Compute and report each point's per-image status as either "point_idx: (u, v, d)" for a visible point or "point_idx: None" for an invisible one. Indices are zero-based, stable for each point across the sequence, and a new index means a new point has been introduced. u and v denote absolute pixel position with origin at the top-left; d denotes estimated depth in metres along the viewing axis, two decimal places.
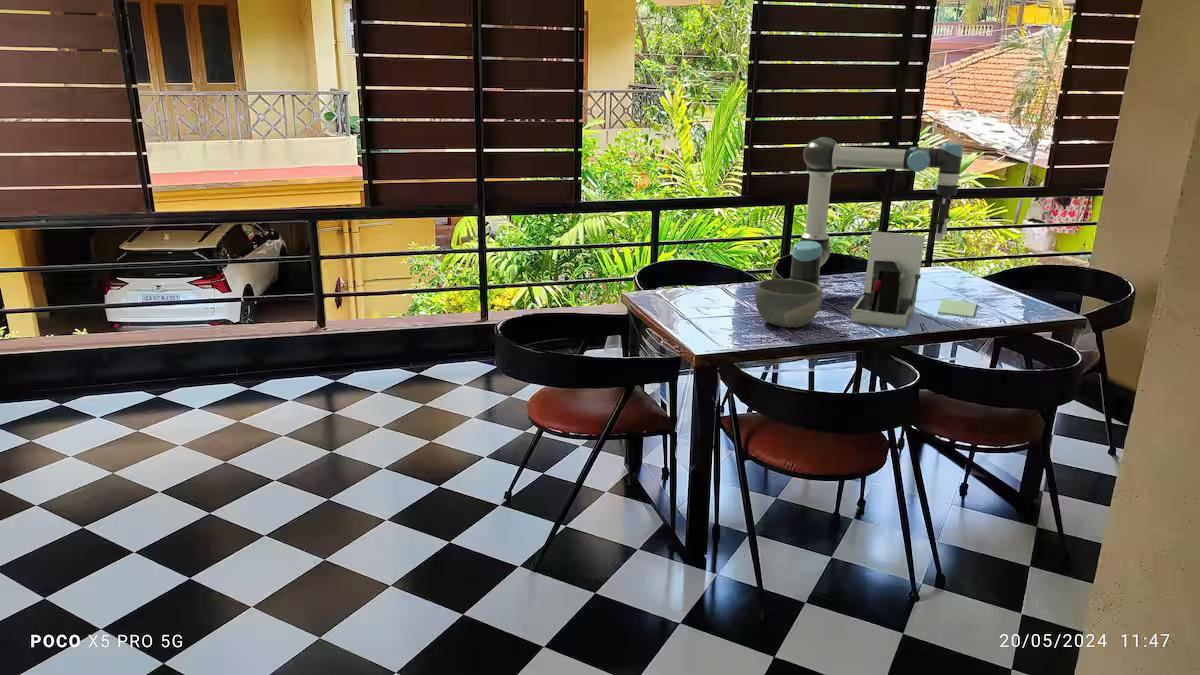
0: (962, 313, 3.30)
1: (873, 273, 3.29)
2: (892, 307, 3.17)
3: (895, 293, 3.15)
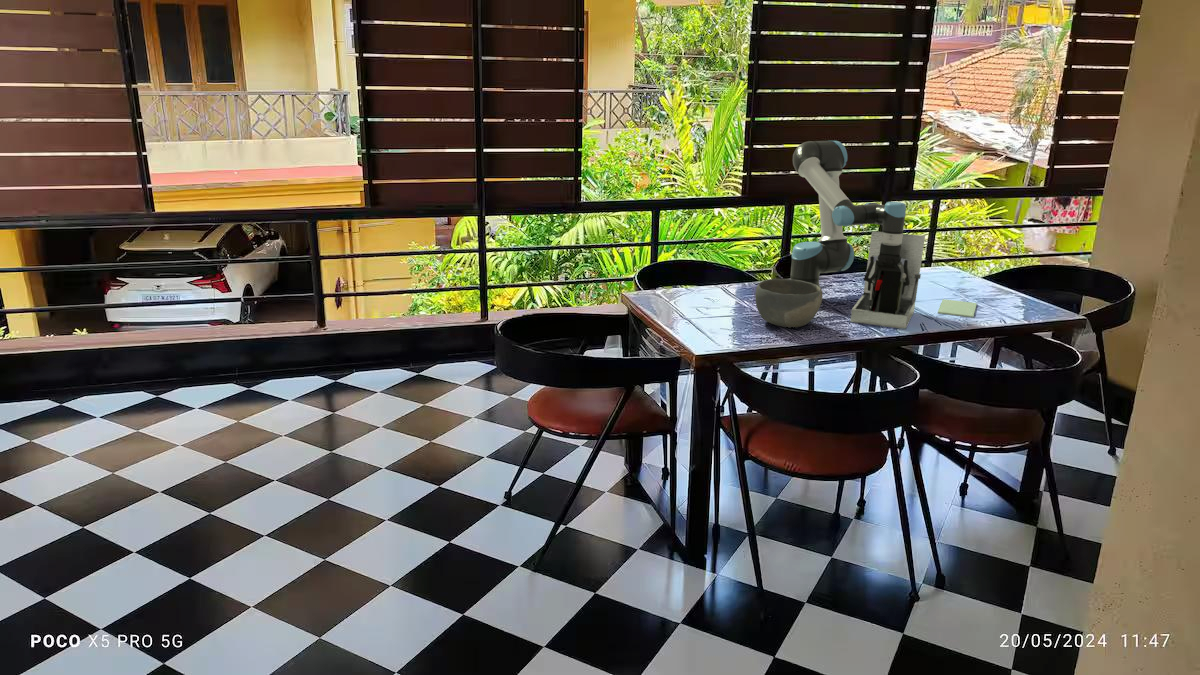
0: (962, 313, 3.30)
1: None
2: (892, 307, 3.17)
3: (896, 293, 3.15)
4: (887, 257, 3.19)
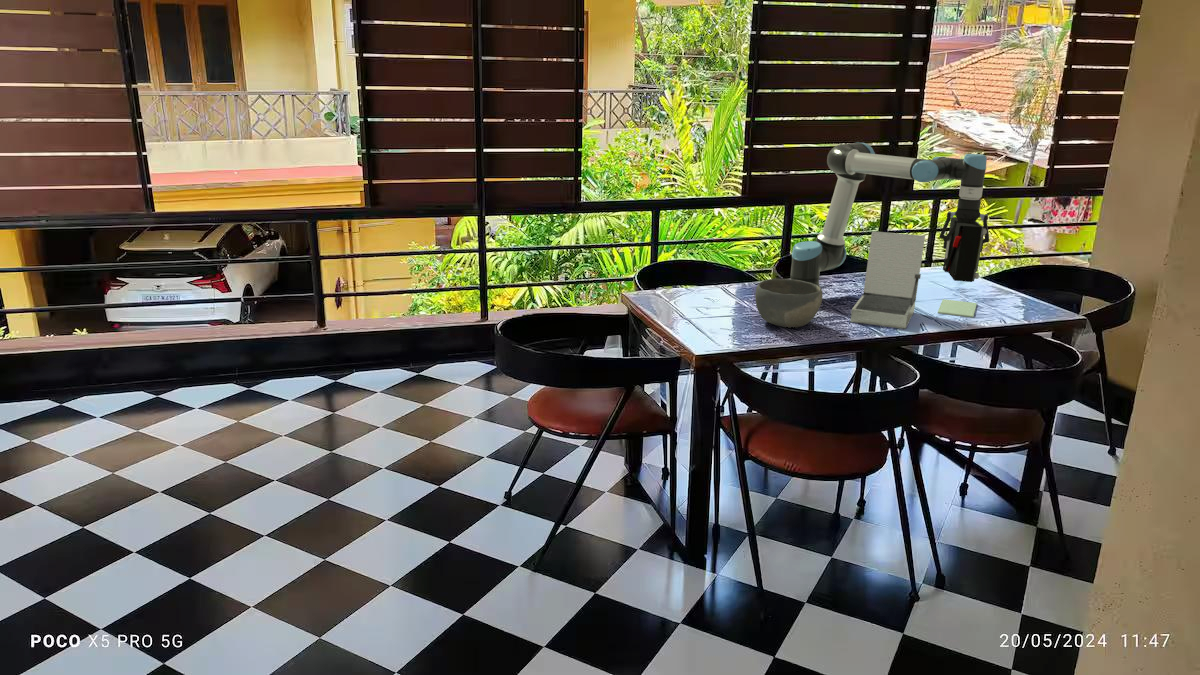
0: (962, 313, 3.30)
1: None
2: (971, 265, 3.01)
3: (976, 250, 2.99)
4: (965, 212, 3.03)
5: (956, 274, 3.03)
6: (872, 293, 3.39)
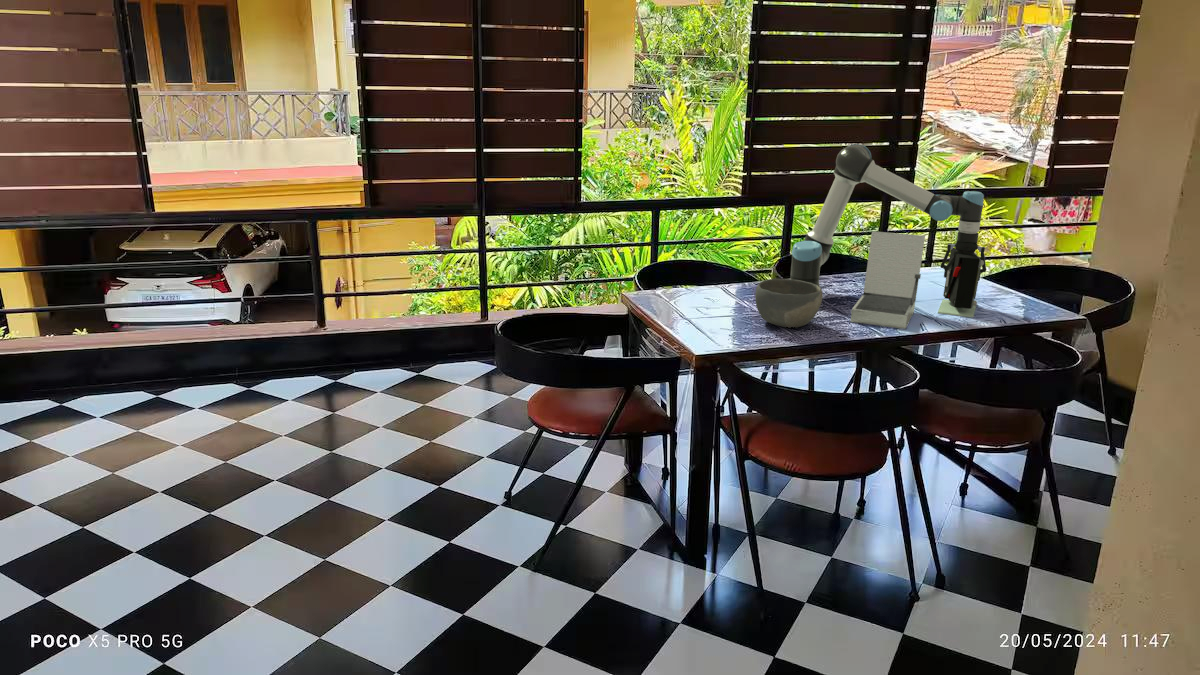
0: (962, 313, 3.30)
1: None
2: (970, 293, 3.27)
3: (974, 279, 3.26)
4: (964, 245, 3.30)
5: (956, 301, 3.29)
6: (872, 293, 3.39)
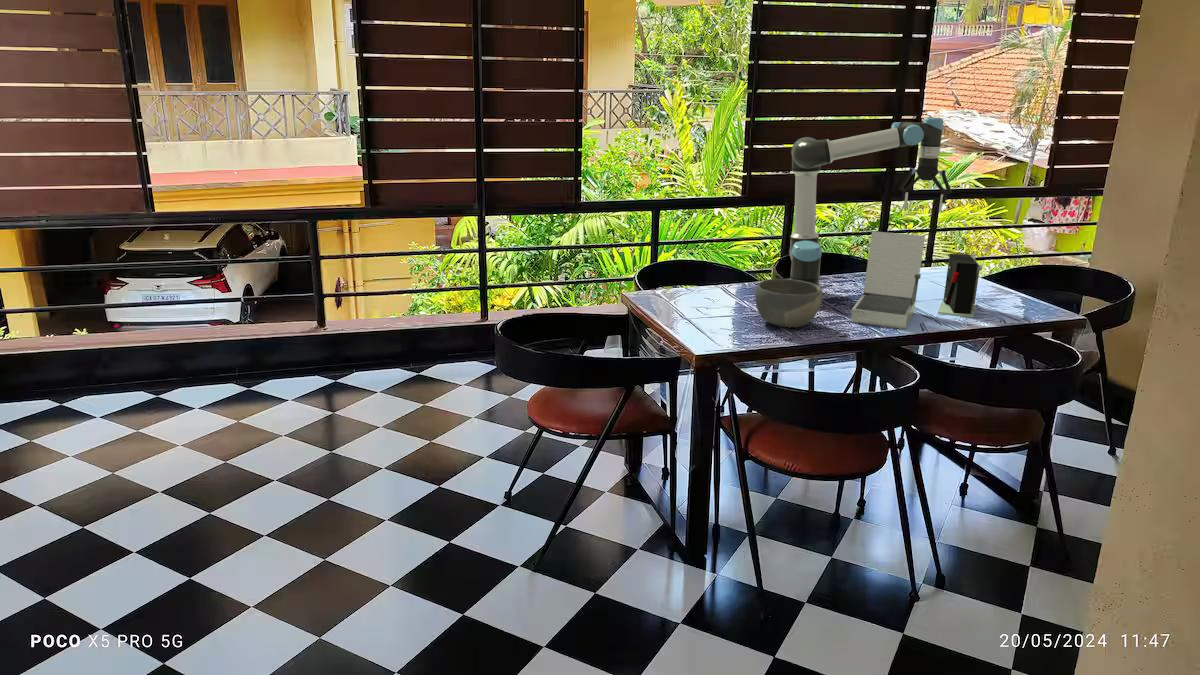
0: (962, 313, 3.30)
1: (949, 265, 3.41)
2: (969, 298, 3.28)
3: (972, 284, 3.26)
4: (925, 170, 3.40)
5: (955, 307, 3.30)
6: (872, 293, 3.39)
